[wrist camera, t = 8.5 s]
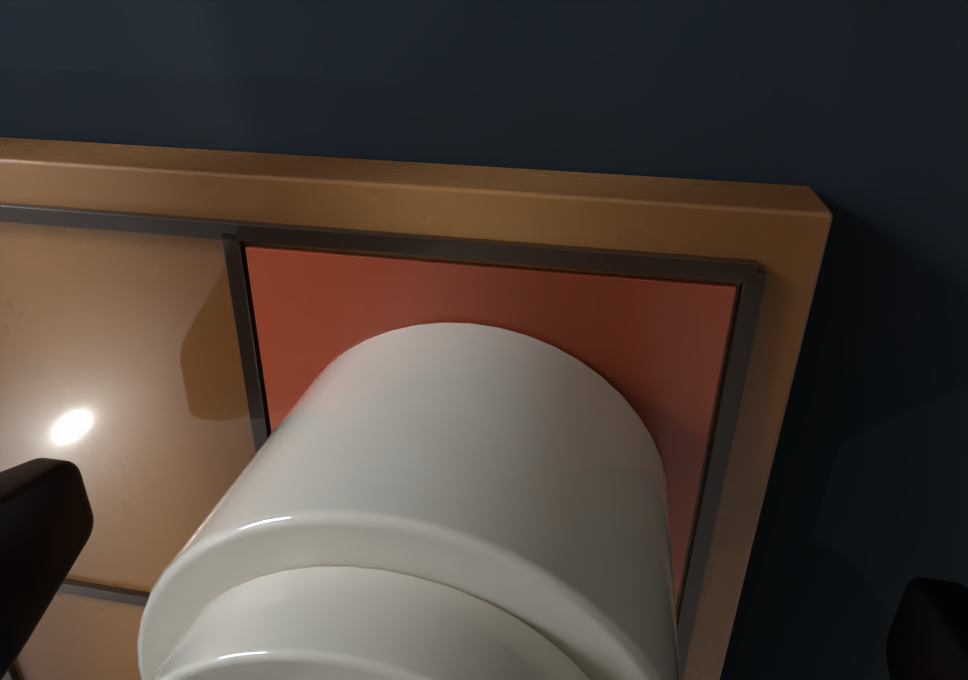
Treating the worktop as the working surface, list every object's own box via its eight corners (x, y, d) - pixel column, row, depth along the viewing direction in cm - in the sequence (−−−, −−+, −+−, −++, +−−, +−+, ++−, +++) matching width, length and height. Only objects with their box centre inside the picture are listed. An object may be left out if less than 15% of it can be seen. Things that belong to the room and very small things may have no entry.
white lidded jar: (309, 601, 10) (136, 935, 7) (269, 301, 8) (-15, 556, 4) (644, 655, 9) (649, 1061, 6) (695, 340, 7) (752, 680, 4)
